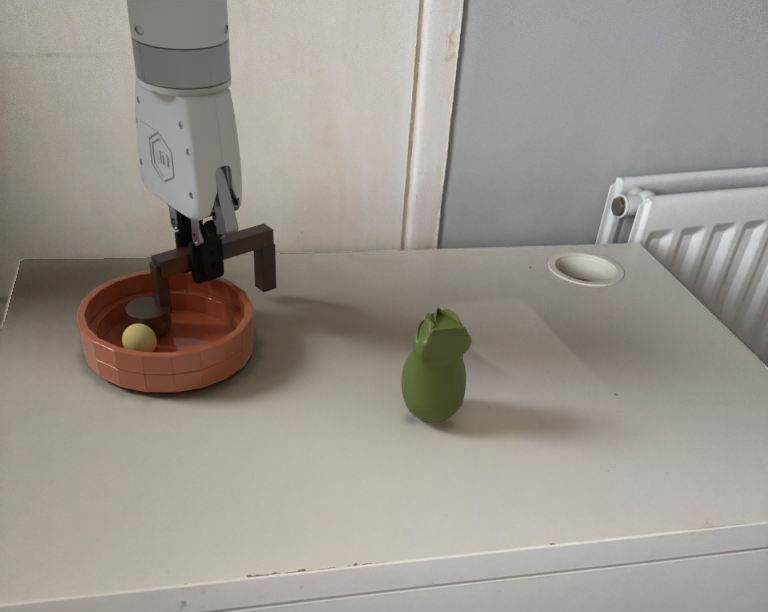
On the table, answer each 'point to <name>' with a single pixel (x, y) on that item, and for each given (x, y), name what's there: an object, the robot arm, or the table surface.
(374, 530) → the table surface
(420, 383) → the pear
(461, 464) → the table surface
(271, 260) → the ladle
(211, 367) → the bowl
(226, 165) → the robot arm
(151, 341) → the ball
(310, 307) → the table surface
